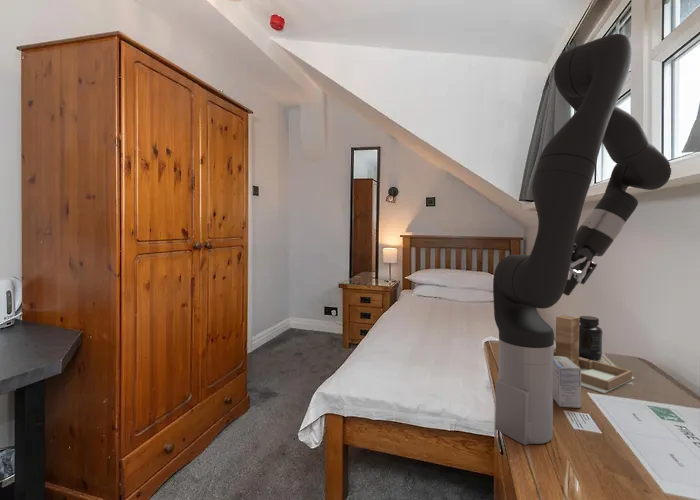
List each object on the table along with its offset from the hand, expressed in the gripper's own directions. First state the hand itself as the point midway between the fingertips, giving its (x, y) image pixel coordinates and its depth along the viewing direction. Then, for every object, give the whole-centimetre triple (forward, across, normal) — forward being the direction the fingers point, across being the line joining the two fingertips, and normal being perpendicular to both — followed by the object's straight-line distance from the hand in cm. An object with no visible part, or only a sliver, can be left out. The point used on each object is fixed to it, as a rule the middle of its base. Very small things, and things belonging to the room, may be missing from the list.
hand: (556, 288), depth 86 cm
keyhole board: (+15, -21, +7) cm, 27 cm away
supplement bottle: (+11, -36, +1) cm, 37 cm away
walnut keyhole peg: (+16, -21, +4) cm, 27 cm away
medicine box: (+21, -3, +14) cm, 26 cm away
